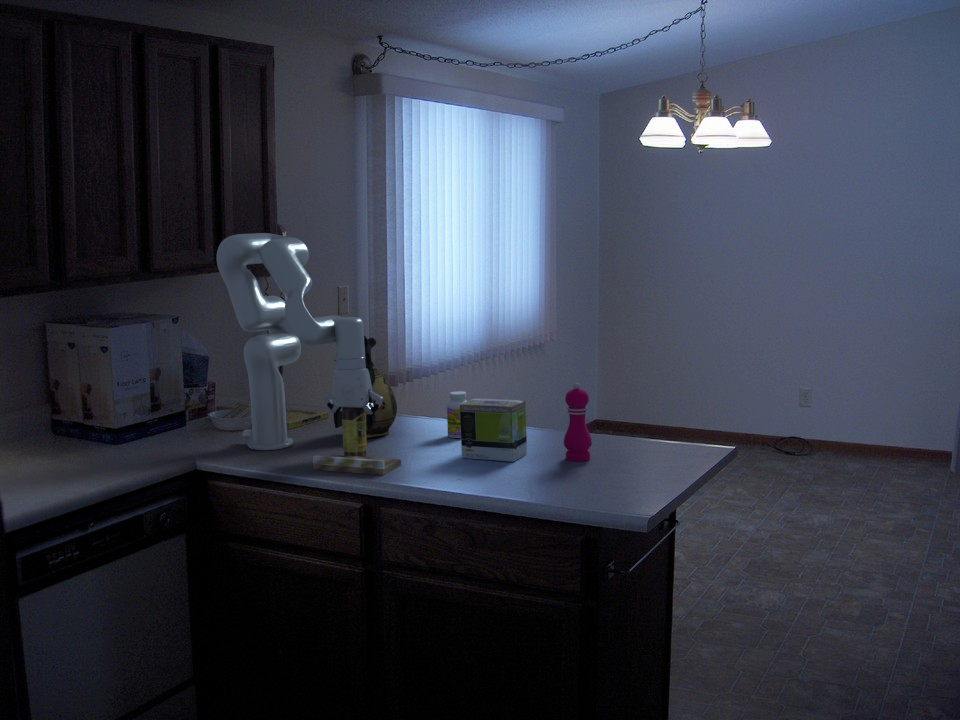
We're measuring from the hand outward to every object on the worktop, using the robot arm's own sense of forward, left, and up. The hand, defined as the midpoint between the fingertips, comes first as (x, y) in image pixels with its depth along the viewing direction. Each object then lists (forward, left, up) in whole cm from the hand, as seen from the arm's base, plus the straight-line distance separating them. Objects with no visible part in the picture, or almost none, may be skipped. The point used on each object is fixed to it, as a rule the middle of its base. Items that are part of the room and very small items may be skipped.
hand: (355, 427), depth 267 cm
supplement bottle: (+18, +29, -8) cm, 35 cm away
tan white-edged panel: (+6, -10, -8) cm, 14 cm away
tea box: (+36, +10, -8) cm, 38 cm away
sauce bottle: (0, 0, -8) cm, 8 cm away
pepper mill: (+58, +13, -8) cm, 60 cm away
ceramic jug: (-8, +24, -8) cm, 27 cm away
